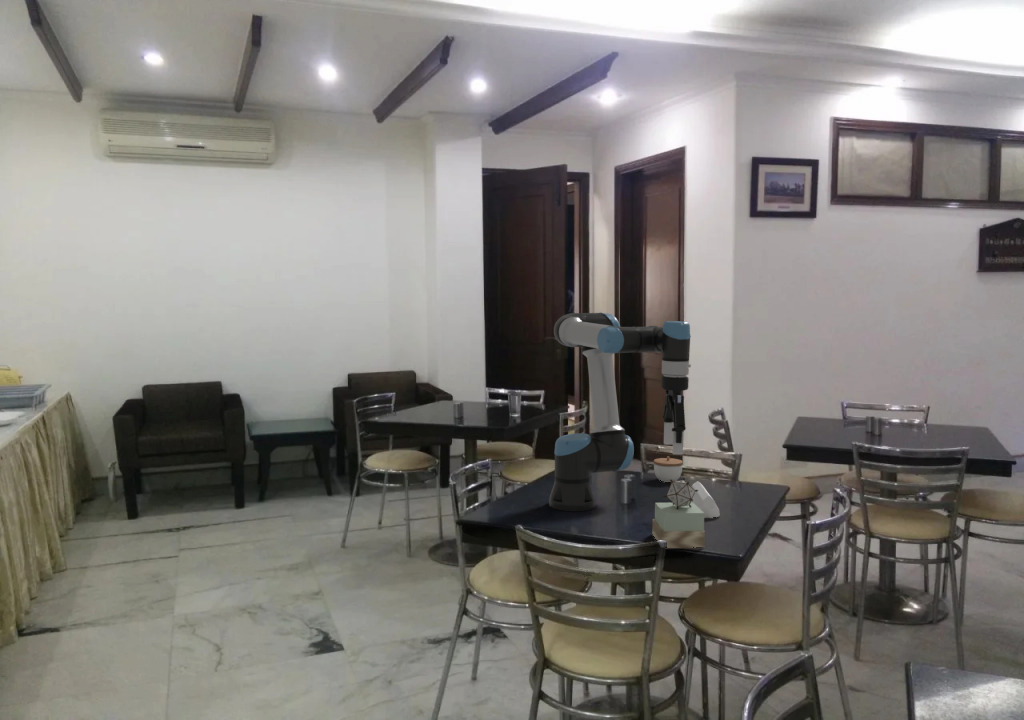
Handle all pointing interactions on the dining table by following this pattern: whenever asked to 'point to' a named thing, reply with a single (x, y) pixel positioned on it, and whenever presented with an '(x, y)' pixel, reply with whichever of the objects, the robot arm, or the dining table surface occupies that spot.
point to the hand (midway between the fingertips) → (672, 449)
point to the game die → (680, 493)
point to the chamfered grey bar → (704, 501)
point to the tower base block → (679, 537)
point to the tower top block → (679, 517)
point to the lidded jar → (667, 469)
